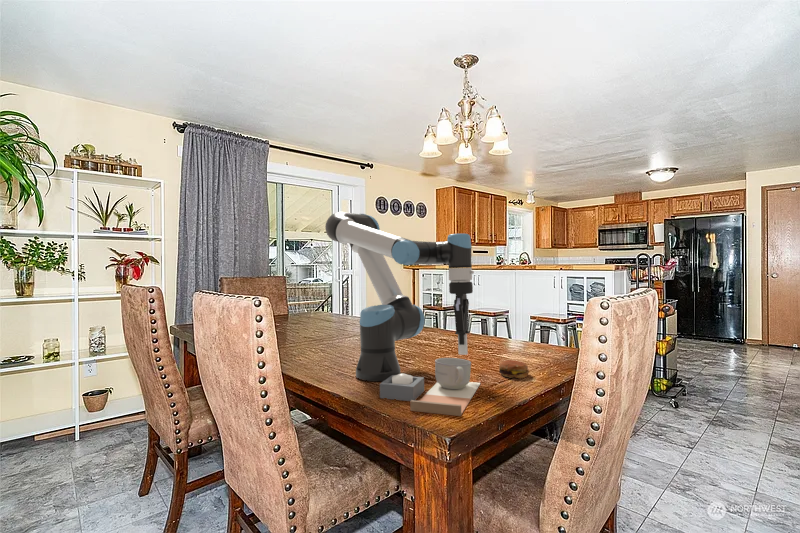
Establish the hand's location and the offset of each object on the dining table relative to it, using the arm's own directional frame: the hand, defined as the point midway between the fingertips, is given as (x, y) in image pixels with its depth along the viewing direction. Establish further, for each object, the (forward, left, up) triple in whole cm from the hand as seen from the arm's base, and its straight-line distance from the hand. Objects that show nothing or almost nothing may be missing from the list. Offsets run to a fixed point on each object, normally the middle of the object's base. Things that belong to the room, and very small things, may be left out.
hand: (463, 354), depth 135 cm
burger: (+15, +10, -9) cm, 20 cm away
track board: (0, -18, -8) cm, 20 cm away
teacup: (0, -12, -8) cm, 14 cm away
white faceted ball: (-13, -21, -8) cm, 26 cm away
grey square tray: (-13, -21, -8) cm, 26 cm away
